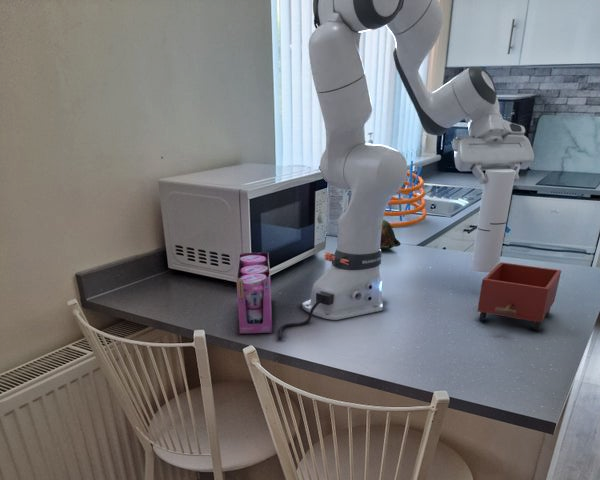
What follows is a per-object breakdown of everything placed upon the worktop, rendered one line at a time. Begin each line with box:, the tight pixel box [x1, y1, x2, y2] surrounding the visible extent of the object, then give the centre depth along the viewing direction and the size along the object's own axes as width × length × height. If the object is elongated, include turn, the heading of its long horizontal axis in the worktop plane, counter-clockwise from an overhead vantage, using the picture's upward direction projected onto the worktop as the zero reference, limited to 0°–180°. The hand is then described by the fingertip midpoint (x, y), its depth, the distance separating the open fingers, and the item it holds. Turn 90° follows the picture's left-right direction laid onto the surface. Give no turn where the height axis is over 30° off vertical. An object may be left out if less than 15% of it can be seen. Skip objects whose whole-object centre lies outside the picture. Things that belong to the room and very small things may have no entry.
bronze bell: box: [380, 218, 402, 251], centre depth 190 cm, size 17×11×18 cm
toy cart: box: [477, 262, 562, 332], centre depth 129 cm, size 22×15×11 cm, turn 148°
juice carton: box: [318, 165, 350, 237], centre depth 209 cm, size 9×10×27 cm
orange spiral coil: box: [348, 160, 428, 228], centre depth 232 cm, size 34×35×24 cm
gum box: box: [236, 251, 273, 334], centre depth 133 cm, size 24×8×14 cm, turn 3°
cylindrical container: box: [470, 169, 516, 273], centre depth 141 cm, size 7×7×25 cm
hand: (500, 181), depth 136 cm, fingers closed on cylindrical container, 7 cm apart
